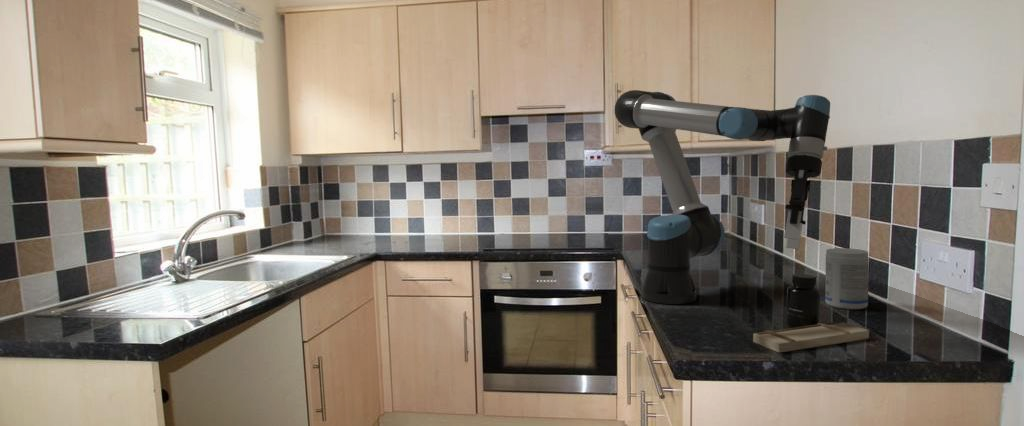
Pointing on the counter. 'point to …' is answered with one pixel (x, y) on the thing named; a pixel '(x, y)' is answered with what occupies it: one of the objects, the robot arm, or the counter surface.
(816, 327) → the birch board
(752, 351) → the counter surface
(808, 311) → the supplement bottle
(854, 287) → the supplement tub
